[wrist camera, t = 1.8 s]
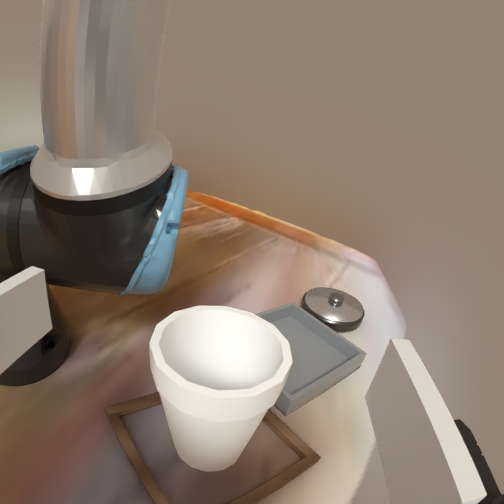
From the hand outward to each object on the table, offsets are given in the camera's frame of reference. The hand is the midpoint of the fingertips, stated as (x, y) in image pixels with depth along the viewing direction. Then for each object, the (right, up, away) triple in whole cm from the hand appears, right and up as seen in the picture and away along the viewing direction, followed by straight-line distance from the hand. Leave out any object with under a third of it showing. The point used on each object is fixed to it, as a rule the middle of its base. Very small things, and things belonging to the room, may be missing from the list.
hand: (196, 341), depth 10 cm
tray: (+7, -11, +29) cm, 31 cm away
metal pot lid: (+15, -7, +40) cm, 43 cm away
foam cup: (-2, -15, +15) cm, 21 cm away
